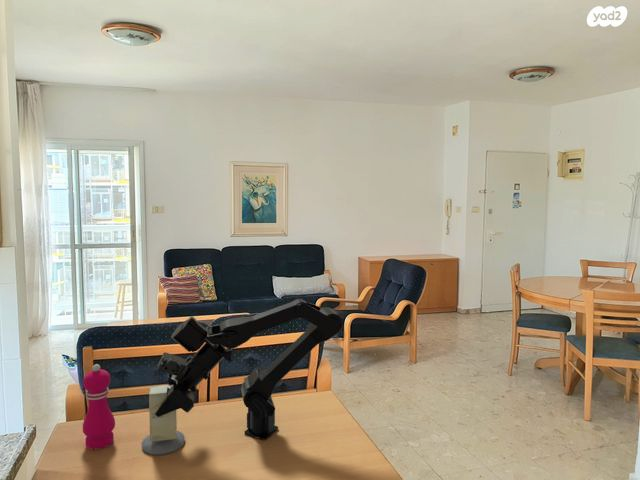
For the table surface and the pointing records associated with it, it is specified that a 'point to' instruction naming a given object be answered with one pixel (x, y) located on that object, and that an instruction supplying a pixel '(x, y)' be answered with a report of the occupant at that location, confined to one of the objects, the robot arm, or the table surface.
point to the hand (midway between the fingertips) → (157, 410)
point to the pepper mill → (98, 410)
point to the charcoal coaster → (163, 445)
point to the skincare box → (164, 424)
